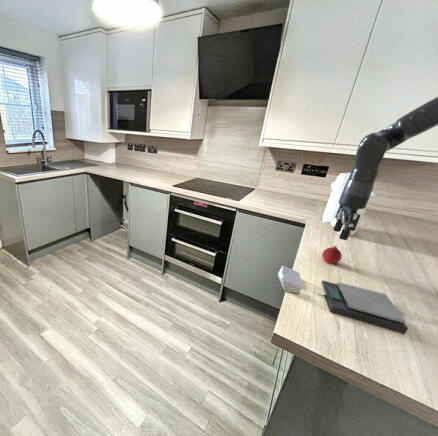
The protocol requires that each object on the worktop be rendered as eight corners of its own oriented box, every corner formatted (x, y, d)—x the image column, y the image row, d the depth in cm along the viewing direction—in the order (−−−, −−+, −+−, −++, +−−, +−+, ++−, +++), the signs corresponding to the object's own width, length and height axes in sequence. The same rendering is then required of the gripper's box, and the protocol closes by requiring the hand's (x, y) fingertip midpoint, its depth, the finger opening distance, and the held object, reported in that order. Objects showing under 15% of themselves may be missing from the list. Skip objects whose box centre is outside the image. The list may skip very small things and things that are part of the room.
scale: (381, 301, 72) (385, 294, 71) (404, 334, 60) (409, 326, 60) (320, 285, 78) (322, 279, 78) (330, 312, 67) (333, 305, 66)
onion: (340, 269, 89) (347, 250, 86) (322, 265, 91) (329, 247, 88) (334, 262, 94) (341, 244, 91) (318, 258, 96) (324, 241, 93)
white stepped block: (367, 240, 117) (393, 180, 106) (342, 237, 118) (365, 178, 108) (337, 221, 142) (356, 171, 131) (316, 218, 143) (333, 169, 133)
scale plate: (384, 296, 71) (385, 294, 71) (404, 323, 61) (405, 320, 60) (336, 284, 75) (337, 281, 75) (347, 307, 65) (348, 304, 65)
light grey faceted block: (291, 301, 75) (302, 292, 71) (272, 290, 77) (281, 281, 73) (294, 278, 82) (304, 269, 78) (276, 269, 84) (285, 260, 80)
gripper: (378, 199, 75) (358, 245, 80) (362, 190, 87) (346, 230, 93) (349, 195, 77) (332, 239, 83) (337, 187, 90) (323, 226, 95)
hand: (339, 235), depth 88 cm, fingers open, 8 cm apart
